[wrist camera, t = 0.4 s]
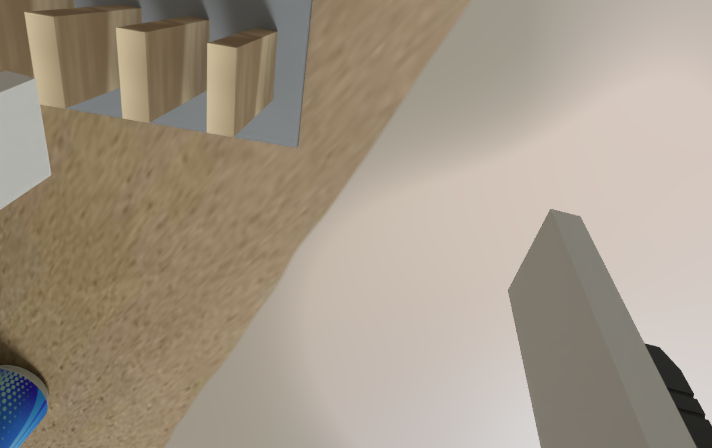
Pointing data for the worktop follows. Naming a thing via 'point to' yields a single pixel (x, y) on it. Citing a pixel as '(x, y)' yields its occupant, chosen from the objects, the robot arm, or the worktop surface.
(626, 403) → the robot arm
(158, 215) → the worktop surface
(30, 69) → the tile
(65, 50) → the tile
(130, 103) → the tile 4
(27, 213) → the worktop surface
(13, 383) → the beer can
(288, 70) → the slate board
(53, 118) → the worktop surface
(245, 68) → the wooden block
